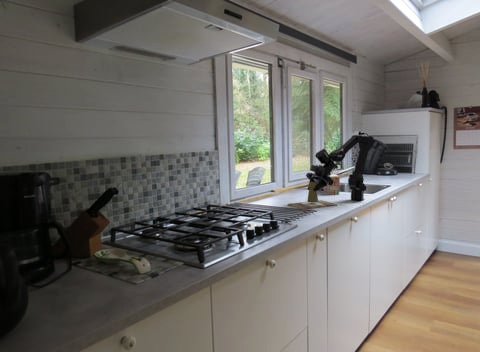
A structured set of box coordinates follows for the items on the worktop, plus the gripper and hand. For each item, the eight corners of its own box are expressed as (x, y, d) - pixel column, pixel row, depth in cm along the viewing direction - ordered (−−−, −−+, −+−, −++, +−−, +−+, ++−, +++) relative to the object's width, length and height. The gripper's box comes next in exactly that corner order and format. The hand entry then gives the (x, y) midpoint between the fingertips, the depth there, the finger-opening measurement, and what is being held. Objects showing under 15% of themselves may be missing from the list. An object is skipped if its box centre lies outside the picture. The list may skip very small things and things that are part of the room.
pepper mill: (308, 202, 206) (308, 183, 204) (306, 200, 212) (306, 181, 210) (319, 202, 206) (319, 182, 204) (316, 200, 212) (317, 181, 210)
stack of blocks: (322, 189, 265) (323, 172, 264) (331, 189, 265) (332, 172, 264) (329, 194, 244) (330, 176, 242) (339, 194, 244) (339, 176, 242)
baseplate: (321, 201, 220) (321, 199, 220) (337, 205, 208) (337, 203, 208) (287, 205, 209) (287, 203, 209) (302, 209, 197) (302, 207, 197)
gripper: (308, 158, 216) (292, 179, 212) (329, 161, 199) (313, 182, 196) (319, 171, 220) (303, 191, 217) (340, 174, 204) (324, 196, 200)
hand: (310, 190), depth 207 cm, fingers closed on pepper mill, 5 cm apart
